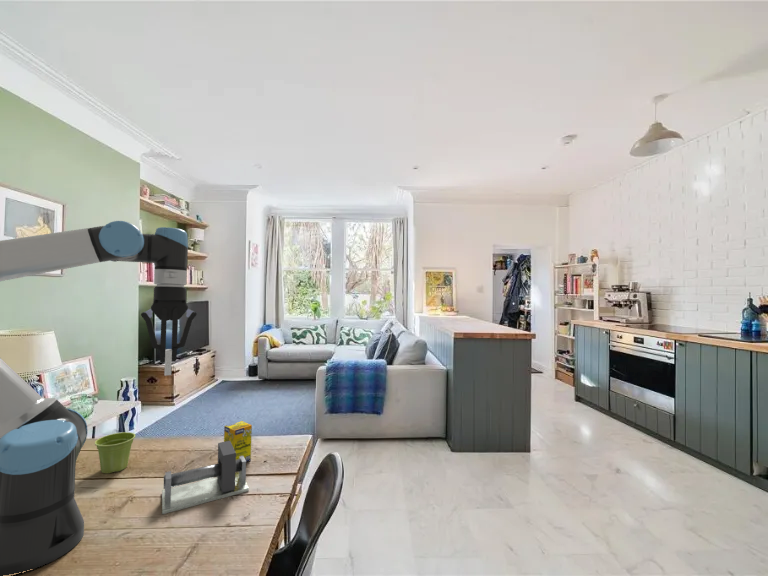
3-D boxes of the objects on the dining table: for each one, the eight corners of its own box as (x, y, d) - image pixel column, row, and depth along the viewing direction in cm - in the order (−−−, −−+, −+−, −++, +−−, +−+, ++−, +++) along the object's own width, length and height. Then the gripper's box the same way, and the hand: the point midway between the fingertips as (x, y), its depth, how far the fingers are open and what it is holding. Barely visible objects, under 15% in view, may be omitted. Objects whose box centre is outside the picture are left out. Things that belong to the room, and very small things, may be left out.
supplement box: (233, 467, 103) (234, 430, 103) (222, 461, 107) (223, 425, 107) (251, 460, 108) (252, 424, 108) (240, 455, 111) (241, 420, 112)
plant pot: (142, 462, 106) (143, 433, 106) (115, 478, 96) (116, 446, 97) (113, 460, 107) (114, 431, 107) (84, 475, 97) (85, 444, 98)
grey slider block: (222, 492, 88) (223, 455, 88) (217, 476, 96) (218, 442, 96) (234, 489, 90) (235, 453, 90) (229, 474, 97) (230, 440, 98)
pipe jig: (162, 514, 81) (163, 484, 81) (162, 493, 89) (162, 466, 89) (248, 491, 91) (249, 464, 91) (241, 474, 99) (241, 450, 100)
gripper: (140, 285, 88) (137, 380, 87) (199, 286, 95) (196, 374, 94) (141, 285, 94) (138, 374, 93) (196, 287, 101) (194, 369, 100)
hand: (167, 374), depth 94 cm, fingers closed
